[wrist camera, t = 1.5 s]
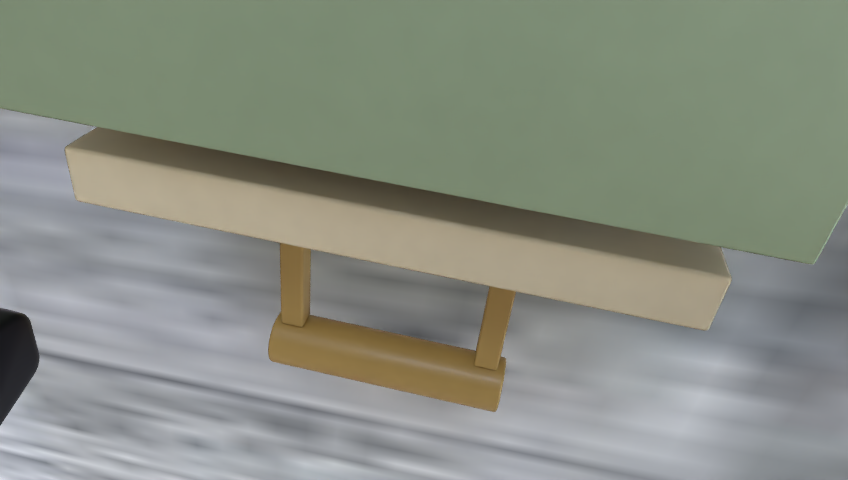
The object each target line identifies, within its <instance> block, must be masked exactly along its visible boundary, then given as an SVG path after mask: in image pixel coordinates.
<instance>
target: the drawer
mask: <svg viewBox="0 0 848 480" xmlns="http://www.w3.org/2000/svg"><path fill="white" fill-rule="evenodd" d="M65 155H66V159H67V164H68V168H69V172H70V177H71V181H72V186H73V190H74V195H75V198H76V200H77V201H80V202H85V203H90V204H94V205H99V206H104V207H109V208H114V209H119V210H123V211H128V212H133V213H138V214H143V215H148V216H153V217H157V218H162V219H167V220H172V221H177V222H182V223H186V224H191V225H196V226H201V227H206V228H211V229H215V230H220V231H225V232H230V233H235V234H240V235H245V236H249V237H254V238H259V239H264V240H269V241H274V242H278V243H280V274H281V312H280V314H279V315H278V317H277V318H276V320H275V323H274V325H273V328H272V331H271V335H270V339H269V347H268V354H269V359H270V360H271V361H273V362H277V363H281V364H285V365H290V366H294V367H299V368H303V369H307V370H312V371H316V372H321V373H325V374H329V375H334V376H338V377H343V378H347V379H351V380H356V381H360V382H365V383H369V384H373V385H378V386H382V387H387V388H391V389H395V390H400V391H404V392H409V393H413V394H417V395H422V396H426V397H431V398H435V399H439V400H444V401H448V402H452V403H457V404H461V405H466V406H470V407H474V408H479V409H483V410H488V411H492V412H495V411H496V410H497V408H498V404H499V400H500V396H501V391H502V386H503V381H504V375H505V368H506V358H505V357H502V356H501V352H502V348H503V344H504V340H505V335H506V331H507V327H508V323H509V319H510V315H511V310H512V306H513V302H514V298H515V294H516V292H520V293H525V294H530V295H535V296H540V297H545V298H550V299H554V300H559V301H564V302H569V303H574V304H579V305H583V306H588V307H593V308H598V309H603V310H608V311H612V312H617V313H622V314H627V315H632V316H637V317H641V318H646V319H651V320H656V321H661V322H666V323H671V324H675V325H680V326H685V327H690V328H695V329H700V330H708V329H709V328H710V326H711V323H712V321H713V319H714V317H715V315H716V313H717V311H718V309H719V306H720V304H721V302H722V300H723V298H724V296H725V294H726V292H727V289H728V287H729V285H730V283H731V281H732V278H731V275H730V272H729V269H728V266H727V263H726V261H725V258H724V255H723V252H722V250H721V247H718V246H713V245H708V244H702V243H697V242H692V241H687V240H682V239H676V238H671V237H666V236H661V235H656V234H651V233H645V232H640V231H635V230H630V229H625V228H619V227H614V226H609V225H604V224H599V223H593V222H588V221H583V220H578V219H573V218H567V217H562V216H557V215H552V214H547V213H541V212H536V211H531V210H526V209H521V208H516V207H510V206H505V205H500V204H495V203H490V202H484V201H479V200H474V199H469V198H464V197H458V196H453V195H448V194H443V193H438V192H432V191H427V190H422V189H417V188H412V187H407V186H401V185H396V184H391V183H386V182H381V181H375V180H370V179H365V178H360V177H355V176H349V175H344V174H339V173H334V172H329V171H323V170H318V169H313V168H308V167H303V166H297V165H292V164H287V163H282V162H277V161H272V160H266V159H261V158H256V157H251V156H246V155H240V154H235V153H230V152H225V151H220V150H214V149H209V148H204V147H199V146H194V145H188V144H183V143H178V142H173V141H168V140H163V139H157V138H152V137H147V136H142V135H137V134H131V133H126V132H121V131H116V130H111V129H105V128H100V127H97V128H95V129H93V130H92V131H90V132H88V133H87V134H85V135H83V136H82V137H80V138H79V139H77V140H75V141H74V142H72V143H70V144H69V145H67V146H66V147H65ZM311 249H312V250H317V251H322V252H327V253H332V254H336V255H341V256H346V257H351V258H356V259H361V260H366V261H370V262H375V263H380V264H385V265H390V266H395V267H399V268H404V269H409V270H414V271H419V272H424V273H428V274H433V275H438V276H443V277H448V278H453V279H458V280H462V281H467V282H472V283H477V284H482V285H487V286H489V291H488V296H487V300H486V305H485V310H484V315H483V320H482V324H481V329H480V334H479V339H478V344H477V348H476V351H474V350H470V349H465V348H460V347H456V346H451V345H447V344H442V343H437V342H433V341H428V340H424V339H419V338H415V337H410V336H405V335H401V334H396V333H392V332H387V331H382V330H378V329H373V328H369V327H364V326H359V325H355V324H350V323H346V322H341V321H336V320H332V319H327V318H323V317H318V316H314V315H310V267H311Z"/></svg>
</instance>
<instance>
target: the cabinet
mask: <svg viewBox="0 0 848 480" xmlns="http://www.w3.org/2000/svg"><path fill="white" fill-rule="evenodd" d="M0 108H2V109H7V110H12V111H17V112H22V113H28V114H33V115H38V116H43V117H48V118H54V119H59V120H64V121H69V122H74V123H79V124H85V125H90V126H95V127H100V128H105V129H111V130H116V131H121V132H126V133H131V134H137V135H142V136H147V137H152V138H157V139H163V140H168V141H173V142H178V143H183V144H188V145H194V146H199V147H204V148H209V149H214V150H220V151H225V152H230V153H235V154H240V155H246V156H251V157H256V158H261V159H266V160H272V161H277V162H282V163H287V164H292V165H297V166H303V167H308V168H313V169H318V170H323V171H329V172H334V173H339V174H344V175H349V176H355V177H360V178H365V179H370V180H375V181H381V182H386V183H391V184H396V185H401V186H407V187H412V188H417V189H422V190H427V191H432V192H438V193H443V194H448V195H453V196H458V197H464V198H469V199H474V200H479V201H484V202H490V203H495V204H500V205H505V206H510V207H516V208H521V209H526V210H531V211H536V212H541V213H547V214H552V215H557V216H562V217H567V218H573V219H578V220H583V221H588V222H593V223H599V224H604V225H609V226H614V227H619V228H625V229H630V230H635V231H640V232H645V233H651V234H656V235H661V236H666V237H671V238H676V239H682V240H687V241H692V242H697V243H702V244H708V245H713V246H718V247H723V248H728V249H734V250H739V251H744V252H749V253H754V254H760V255H765V256H770V257H775V258H780V259H785V260H791V261H796V262H801V263H806V264H815V263H816V261H817V259H818V257H819V255H820V254H821V252H822V250H823V248H824V246H825V244H826V243H827V241H828V239H829V237H830V235H831V234H832V232H833V230H834V228H835V226H836V225H837V223H838V221H839V219H840V217H841V215H842V214H843V212H844V210H845V208H846V206H847V205H848V0H0Z"/></svg>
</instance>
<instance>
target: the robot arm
mask: <svg viewBox="0 0 848 480" xmlns="http://www.w3.org/2000/svg"><path fill="white" fill-rule="evenodd" d="M38 364H39V351H38V348H37V344H36V340H35V336H34V333H33V329H32V325H31V322H30V320H29V318H28V317H27V316H26V315H25V314H23V313H19V312H15V311H12V310H8V309H3V308H0V425H1V424H2V422H3V421H4V419H5V418H6V416H7V415H8V413H9V412H10V410H11V409H12V407H13V406H14V404H15V403H16V401H17V400H18V398H19V397H20V395H21V393H22V392H23V390H24V389H25V387H26V386H27V384H28V383H29V381H30V380H31V378H32V377H33V375H34V374H35V372H36V370H37V367H38Z"/></svg>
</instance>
